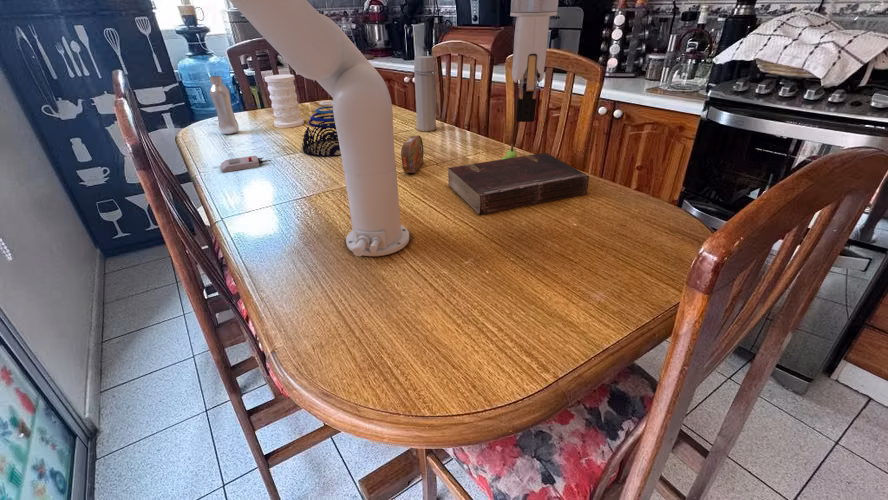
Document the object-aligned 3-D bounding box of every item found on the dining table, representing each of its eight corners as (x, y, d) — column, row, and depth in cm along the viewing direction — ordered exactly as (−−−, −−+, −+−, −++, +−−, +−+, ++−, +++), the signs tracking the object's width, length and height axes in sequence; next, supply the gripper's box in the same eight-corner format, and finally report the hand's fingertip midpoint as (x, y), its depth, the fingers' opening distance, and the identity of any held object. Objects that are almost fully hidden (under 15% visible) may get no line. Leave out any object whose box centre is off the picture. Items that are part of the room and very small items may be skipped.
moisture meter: (215, 167, 125) (212, 157, 124) (270, 158, 131) (267, 149, 129) (215, 173, 120) (212, 163, 118) (272, 164, 126) (270, 155, 124)
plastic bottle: (221, 132, 159) (204, 76, 149) (240, 130, 162) (225, 74, 151) (221, 136, 154) (204, 78, 144) (240, 134, 156) (225, 77, 146)
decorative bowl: (370, 151, 135) (365, 105, 127) (306, 160, 129) (297, 112, 121) (357, 136, 151) (352, 94, 143) (301, 143, 145) (292, 100, 137)
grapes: (522, 174, 114) (524, 148, 111) (499, 174, 115) (501, 148, 111) (520, 163, 122) (522, 138, 119) (499, 162, 123) (500, 138, 119)
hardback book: (480, 215, 93) (480, 194, 90) (448, 186, 108) (448, 167, 106) (586, 194, 102) (589, 174, 99) (543, 170, 117) (545, 152, 114)
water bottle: (413, 131, 154) (409, 58, 142) (421, 126, 161) (417, 55, 148) (437, 133, 152) (435, 58, 139) (443, 127, 159) (442, 55, 146)
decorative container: (297, 119, 175) (288, 73, 166) (308, 124, 167) (299, 76, 158) (269, 124, 169) (258, 76, 160) (280, 129, 161) (269, 79, 152)
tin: (411, 177, 114) (409, 147, 110) (400, 177, 115) (398, 146, 110) (424, 159, 127) (423, 132, 122) (414, 159, 127) (413, 131, 123)
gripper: (509, 5, 74) (503, 111, 83) (512, 6, 61) (505, 131, 71) (552, 4, 73) (541, 111, 83) (564, 5, 61) (550, 131, 70)
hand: (525, 120), depth 77 cm, fingers closed
